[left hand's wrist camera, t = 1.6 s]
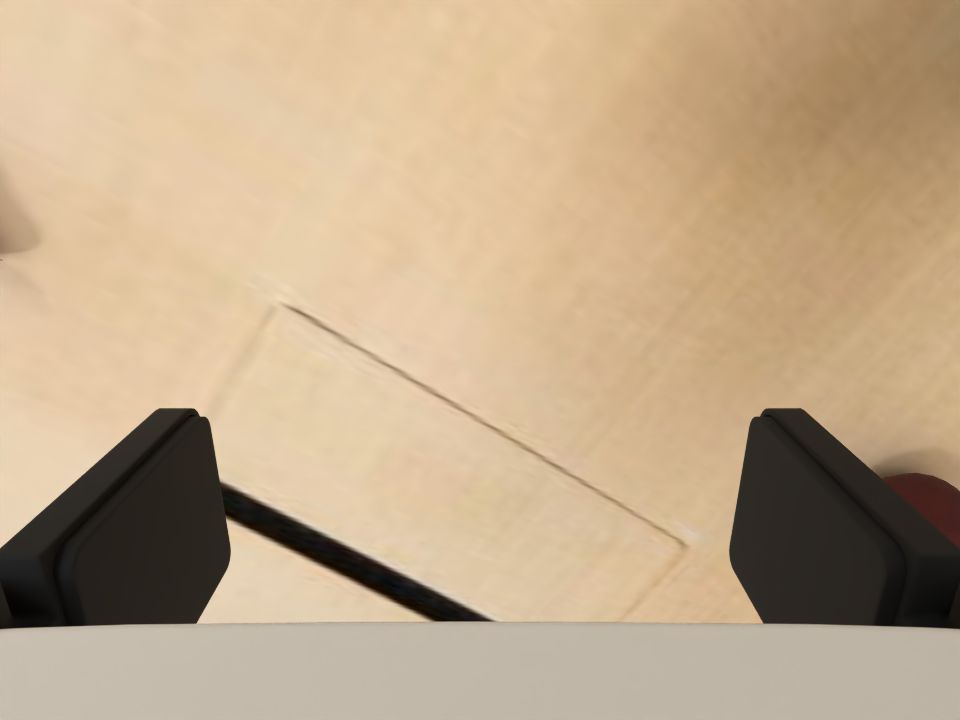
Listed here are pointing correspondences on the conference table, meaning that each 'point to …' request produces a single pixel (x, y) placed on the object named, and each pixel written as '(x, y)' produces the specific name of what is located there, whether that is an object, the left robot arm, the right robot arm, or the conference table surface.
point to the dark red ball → (931, 501)
